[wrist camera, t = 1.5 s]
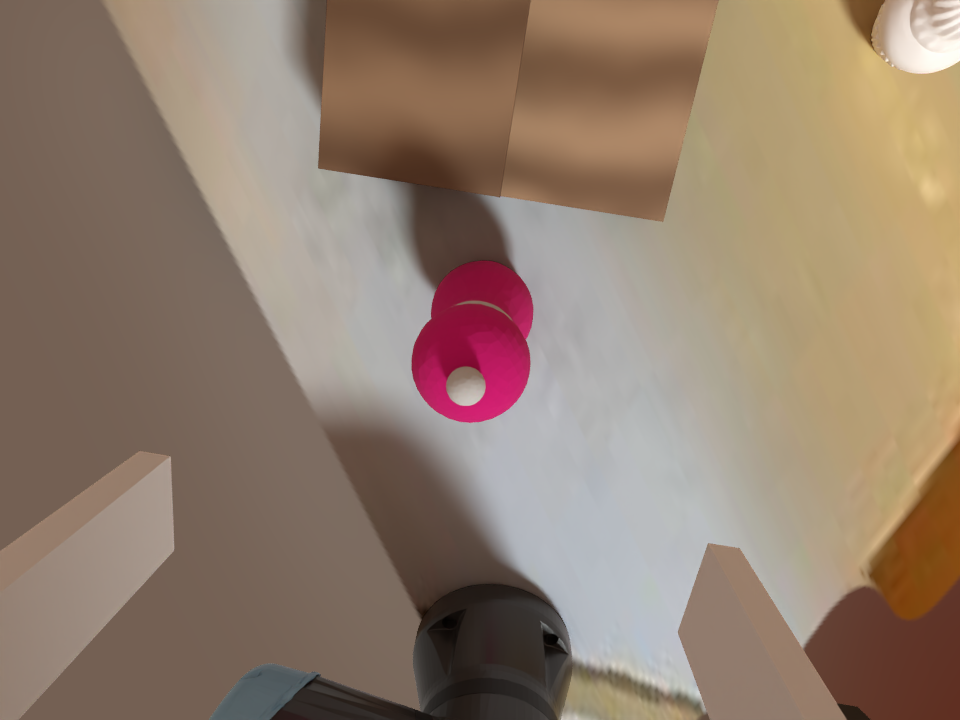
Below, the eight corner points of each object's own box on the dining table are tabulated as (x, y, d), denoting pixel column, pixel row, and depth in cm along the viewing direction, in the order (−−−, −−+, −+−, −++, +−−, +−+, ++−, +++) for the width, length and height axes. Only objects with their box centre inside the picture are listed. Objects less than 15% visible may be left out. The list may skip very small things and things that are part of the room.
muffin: (832, 72, 36) (903, 47, 30) (870, -33, 34) (957, -85, 28) (920, 92, 36) (1012, 71, 30) (964, -12, 34) (1073, -59, 28)
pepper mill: (421, 289, 42) (348, 374, 23) (495, 234, 41) (482, 277, 22) (475, 361, 44) (448, 494, 25) (549, 310, 42) (580, 412, 23)
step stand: (648, 218, 40) (681, 225, 32) (354, 171, 40) (318, 168, 32) (709, -35, 35) (765, -97, 27) (373, -88, 35) (335, -163, 27)
